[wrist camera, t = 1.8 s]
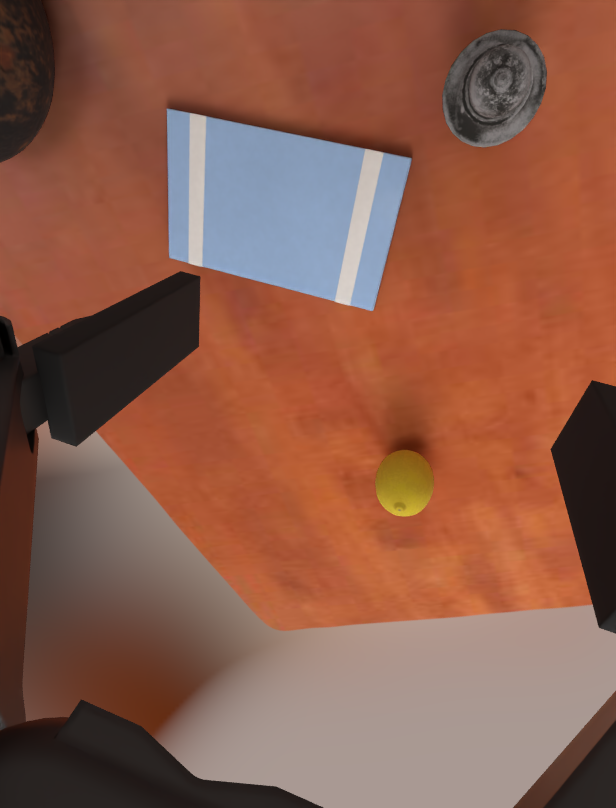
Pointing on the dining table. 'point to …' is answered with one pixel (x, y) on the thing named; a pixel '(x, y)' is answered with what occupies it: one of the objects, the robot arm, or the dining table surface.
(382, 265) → the cloth
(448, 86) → the salt shaker
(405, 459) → the lemon
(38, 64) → the glass bottle
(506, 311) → the dining table surface
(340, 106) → the dining table surface
